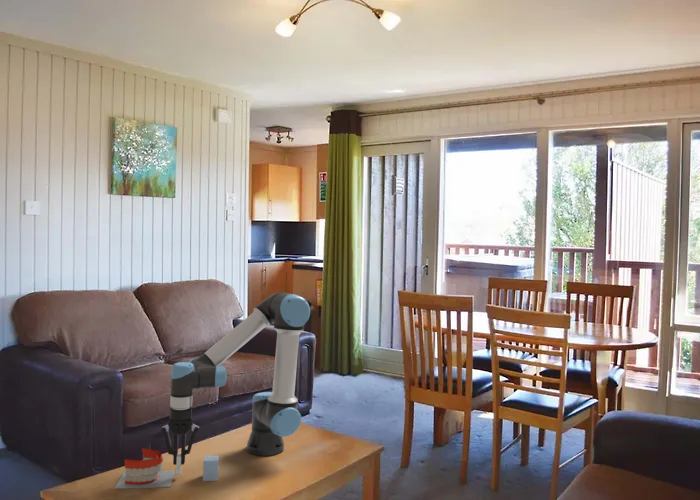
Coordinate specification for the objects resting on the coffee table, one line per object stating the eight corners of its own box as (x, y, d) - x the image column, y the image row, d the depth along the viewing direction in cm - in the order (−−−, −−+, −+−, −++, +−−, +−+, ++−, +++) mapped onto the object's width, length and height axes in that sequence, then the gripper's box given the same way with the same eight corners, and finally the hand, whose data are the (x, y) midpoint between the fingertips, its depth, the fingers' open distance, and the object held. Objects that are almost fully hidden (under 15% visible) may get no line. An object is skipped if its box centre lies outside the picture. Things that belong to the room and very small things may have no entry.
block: (218, 474, 212) (218, 455, 212) (217, 480, 207) (218, 460, 207) (204, 475, 212) (204, 456, 211) (202, 481, 207) (203, 461, 206)
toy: (150, 487, 199) (151, 464, 198) (122, 484, 201) (123, 460, 201) (169, 473, 211) (169, 451, 211) (142, 470, 213) (143, 448, 213)
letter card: (175, 471, 214) (175, 470, 214) (170, 487, 200) (170, 486, 200) (123, 472, 211) (123, 471, 211) (114, 489, 197) (114, 488, 197)
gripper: (201, 403, 212) (198, 468, 212) (163, 404, 210) (161, 469, 210) (199, 409, 205) (196, 477, 205) (160, 410, 202) (157, 478, 203)
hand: (178, 473), depth 208 cm, fingers closed
